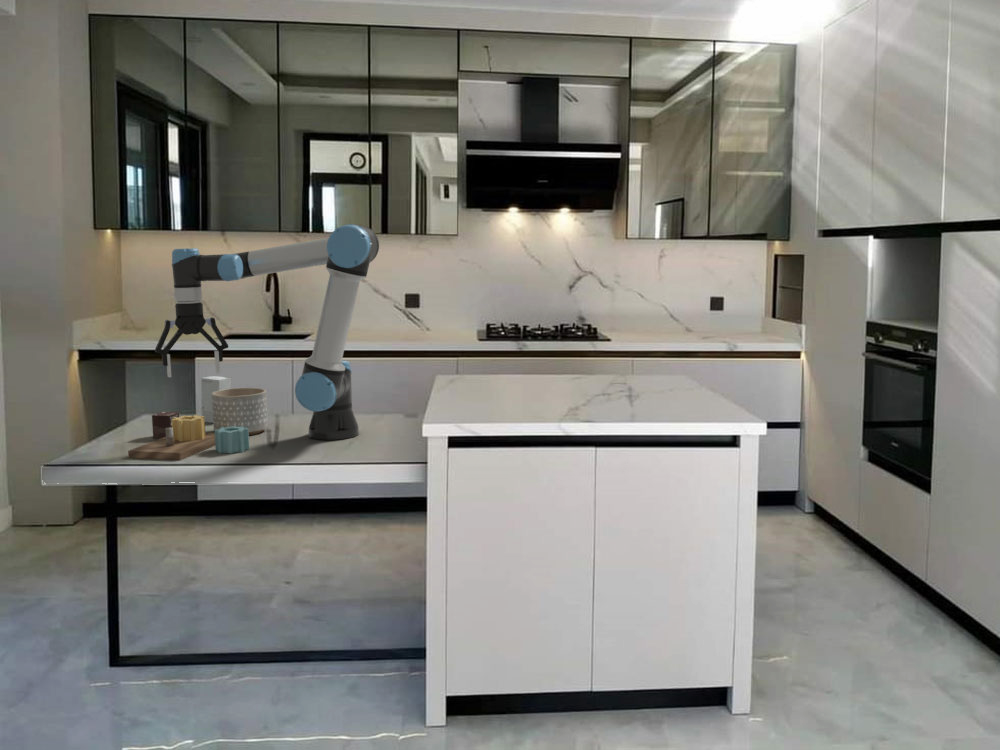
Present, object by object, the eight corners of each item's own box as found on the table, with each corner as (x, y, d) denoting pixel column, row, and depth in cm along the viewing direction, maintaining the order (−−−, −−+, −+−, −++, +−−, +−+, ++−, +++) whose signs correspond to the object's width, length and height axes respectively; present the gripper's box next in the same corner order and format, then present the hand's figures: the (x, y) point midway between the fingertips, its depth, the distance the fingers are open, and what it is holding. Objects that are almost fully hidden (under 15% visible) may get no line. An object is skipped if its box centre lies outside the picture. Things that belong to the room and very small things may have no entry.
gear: (254, 447, 270) (253, 426, 269) (239, 454, 261) (238, 433, 260) (226, 445, 272) (225, 425, 271) (210, 452, 263) (209, 431, 262)
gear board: (227, 440, 280) (226, 417, 279) (180, 460, 255) (179, 435, 254) (180, 438, 283) (178, 415, 282) (128, 457, 258) (126, 433, 257)
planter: (211, 429, 296) (208, 390, 294) (263, 424, 302) (261, 386, 301) (217, 439, 281) (214, 397, 279) (272, 434, 287) (270, 393, 286)
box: (170, 439, 282) (169, 415, 281) (152, 438, 283) (151, 415, 282) (181, 435, 288) (179, 412, 287) (163, 434, 289) (162, 411, 288)
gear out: (207, 434, 279) (205, 414, 278) (202, 440, 270) (201, 420, 269) (175, 435, 277) (174, 415, 276) (170, 442, 268) (169, 421, 267)
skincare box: (201, 422, 308) (198, 377, 306) (214, 418, 313) (212, 375, 311) (220, 424, 304) (217, 379, 302) (233, 420, 309) (231, 376, 307)
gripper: (230, 299, 278) (235, 369, 281) (141, 303, 267) (147, 377, 270) (235, 300, 271) (240, 372, 274) (144, 305, 260) (150, 380, 263)
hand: (194, 375), depth 272 cm, fingers open, 13 cm apart
